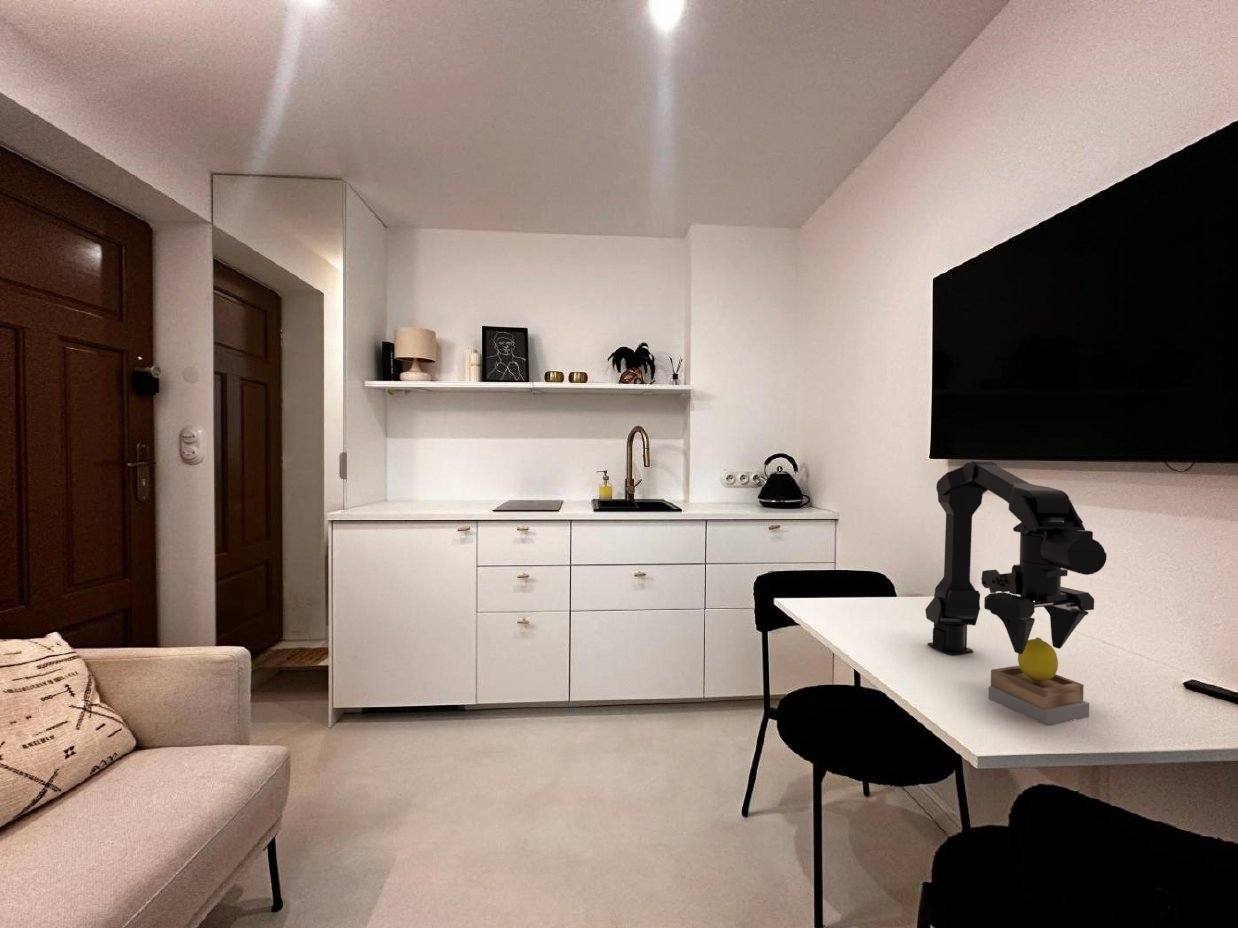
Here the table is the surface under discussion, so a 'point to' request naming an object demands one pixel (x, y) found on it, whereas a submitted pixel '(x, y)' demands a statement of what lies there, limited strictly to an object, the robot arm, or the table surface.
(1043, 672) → the lemon
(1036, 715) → the bottom block
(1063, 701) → the wooden tray
